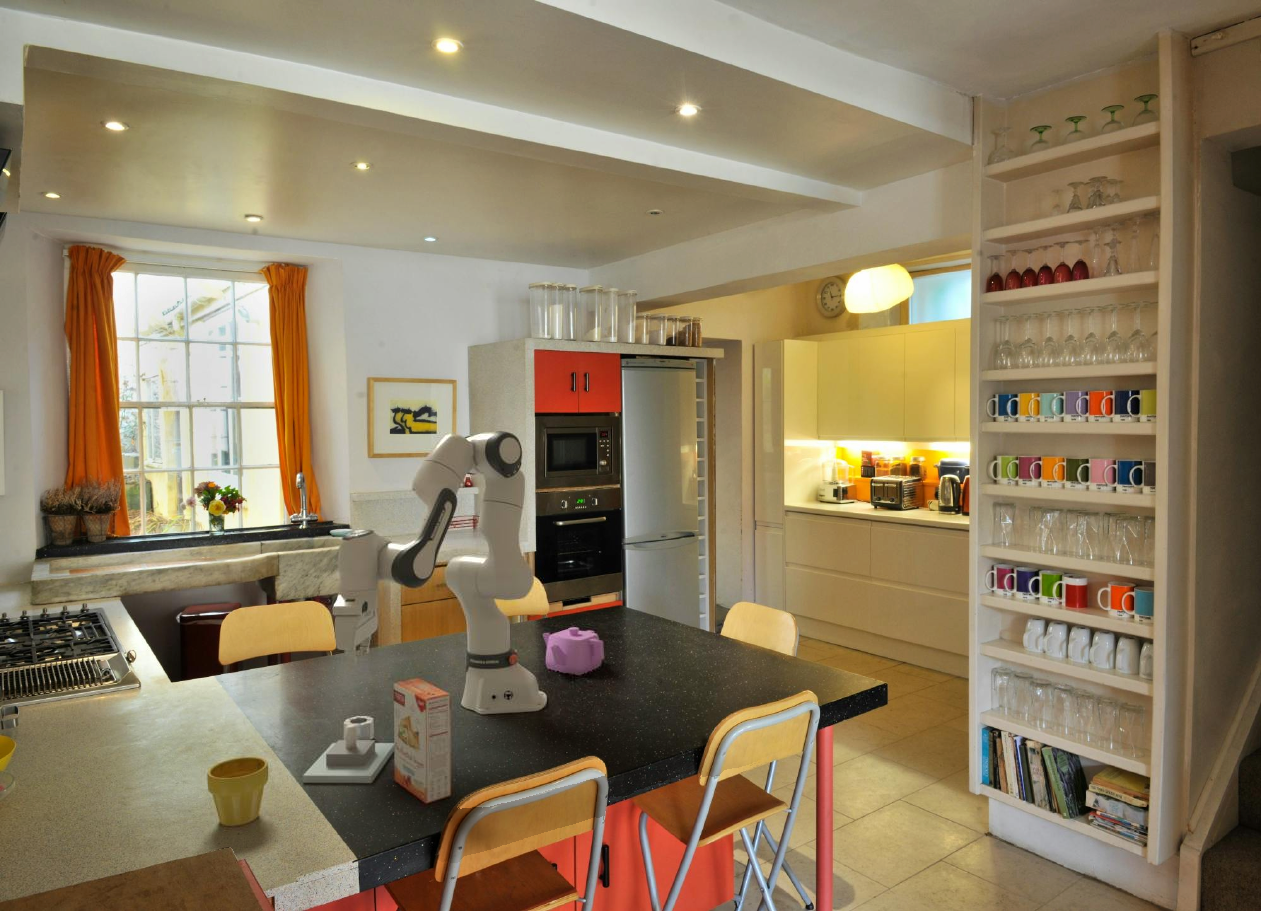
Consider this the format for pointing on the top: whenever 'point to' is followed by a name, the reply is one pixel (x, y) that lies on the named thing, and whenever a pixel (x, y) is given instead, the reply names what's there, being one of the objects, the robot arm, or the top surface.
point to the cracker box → (422, 739)
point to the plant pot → (238, 789)
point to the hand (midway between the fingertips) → (358, 659)
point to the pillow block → (350, 761)
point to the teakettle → (573, 651)
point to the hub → (361, 727)
